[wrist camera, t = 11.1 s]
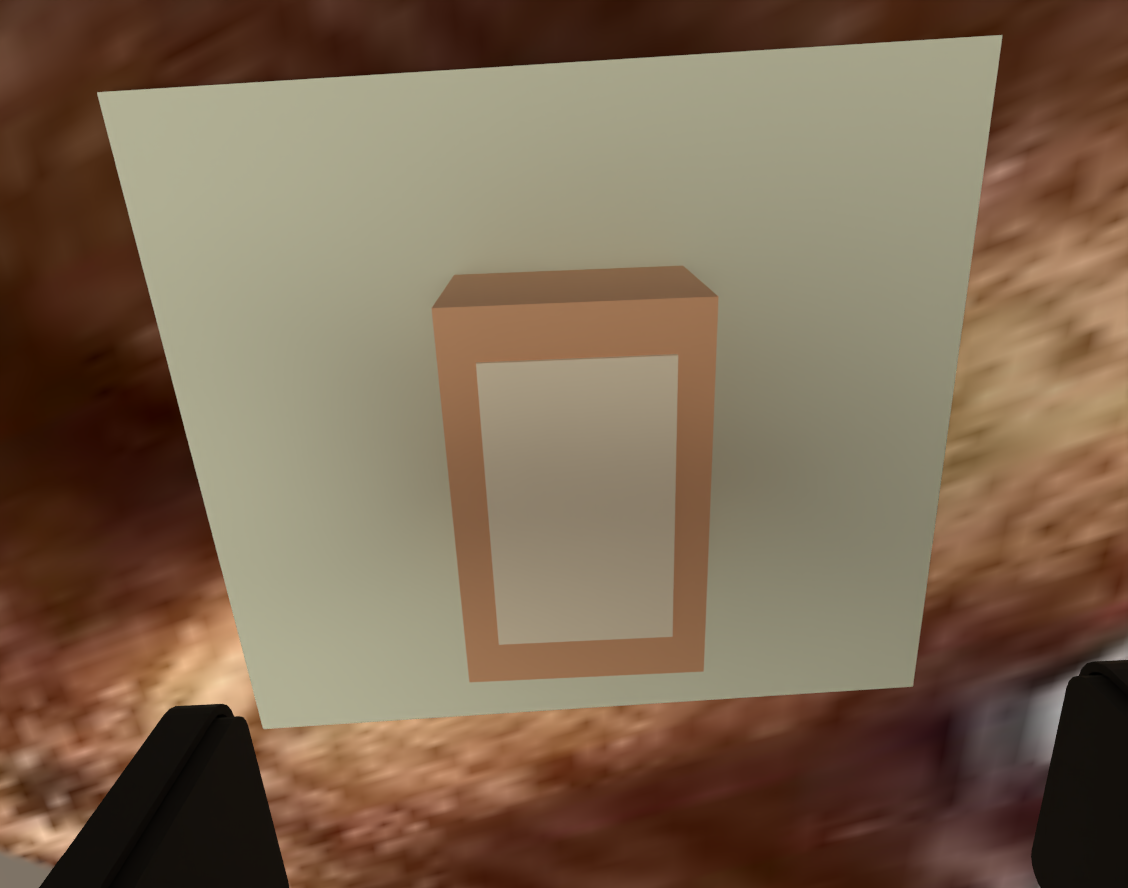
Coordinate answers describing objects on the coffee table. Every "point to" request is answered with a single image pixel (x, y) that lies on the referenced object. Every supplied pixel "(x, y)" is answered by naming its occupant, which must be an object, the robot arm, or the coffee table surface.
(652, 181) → the play mat
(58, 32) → the coffee table surface
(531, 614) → the block
